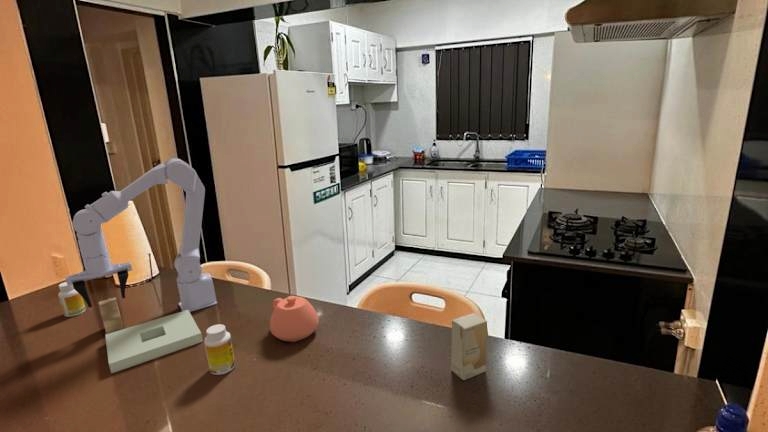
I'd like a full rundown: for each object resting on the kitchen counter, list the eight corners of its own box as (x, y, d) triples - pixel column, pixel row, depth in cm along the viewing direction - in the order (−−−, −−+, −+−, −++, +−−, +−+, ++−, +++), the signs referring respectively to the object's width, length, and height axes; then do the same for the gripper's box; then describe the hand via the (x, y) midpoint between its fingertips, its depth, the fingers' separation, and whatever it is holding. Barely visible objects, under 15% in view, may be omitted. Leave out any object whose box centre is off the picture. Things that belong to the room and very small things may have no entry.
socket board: (189, 317, 119) (188, 309, 118) (202, 341, 106) (201, 332, 106) (107, 343, 108) (105, 334, 107) (111, 373, 95) (108, 364, 95)
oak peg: (122, 322, 118) (115, 297, 116) (123, 328, 115) (116, 302, 113) (105, 327, 116) (98, 301, 114) (106, 333, 113) (99, 307, 111)
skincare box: (463, 381, 86) (463, 329, 83) (450, 370, 90) (450, 319, 87) (487, 371, 89) (488, 320, 86) (474, 360, 93) (474, 311, 89)
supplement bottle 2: (237, 371, 94) (230, 331, 91) (211, 379, 91) (203, 338, 89) (234, 358, 98) (227, 319, 96) (209, 365, 96) (201, 326, 93)
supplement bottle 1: (90, 308, 128) (82, 279, 125) (76, 317, 123) (67, 287, 120) (74, 308, 128) (66, 279, 126) (59, 317, 123) (50, 287, 121)
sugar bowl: (293, 352, 100) (288, 314, 97) (257, 335, 108) (251, 299, 105) (329, 328, 109) (325, 293, 106) (293, 314, 117) (289, 281, 115)
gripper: (125, 244, 117) (136, 288, 120) (61, 257, 109) (74, 304, 112) (128, 250, 111) (138, 297, 115) (60, 265, 103) (74, 314, 107)
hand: (107, 301), depth 113 cm, fingers open, 7 cm apart
